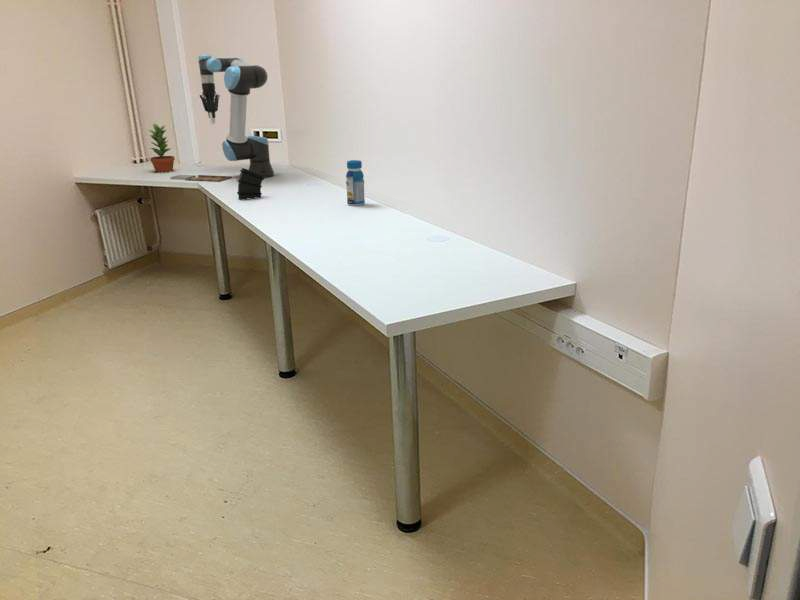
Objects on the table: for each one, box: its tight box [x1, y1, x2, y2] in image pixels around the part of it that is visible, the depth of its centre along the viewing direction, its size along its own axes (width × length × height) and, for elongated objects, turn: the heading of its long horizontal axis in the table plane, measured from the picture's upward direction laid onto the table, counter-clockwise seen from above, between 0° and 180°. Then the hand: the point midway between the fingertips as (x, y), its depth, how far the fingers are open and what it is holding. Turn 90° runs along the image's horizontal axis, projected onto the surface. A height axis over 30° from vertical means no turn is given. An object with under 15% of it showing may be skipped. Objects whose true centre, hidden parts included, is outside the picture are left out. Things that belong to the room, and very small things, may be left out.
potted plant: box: [148, 123, 175, 173], centre depth 390 cm, size 15×15×30 cm
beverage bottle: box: [345, 159, 366, 207], centre depth 287 cm, size 8×8×20 cm
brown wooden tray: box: [184, 174, 233, 183], centre depth 359 cm, size 23×13×2 cm, turn 71°
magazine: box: [237, 167, 265, 200], centre depth 308 cm, size 4×13×15 cm, turn 124°
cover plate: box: [169, 174, 197, 181], centre depth 364 cm, size 11×9×2 cm
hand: (212, 123), depth 379 cm, fingers closed
